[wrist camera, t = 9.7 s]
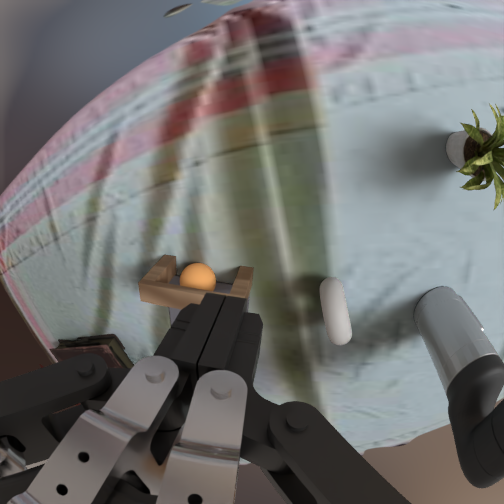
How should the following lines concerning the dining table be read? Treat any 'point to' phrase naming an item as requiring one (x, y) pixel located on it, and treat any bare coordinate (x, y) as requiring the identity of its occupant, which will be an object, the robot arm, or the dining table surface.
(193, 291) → the bridge
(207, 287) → the ball
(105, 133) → the dining table surface
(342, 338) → the donut
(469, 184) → the house plant
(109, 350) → the diary
